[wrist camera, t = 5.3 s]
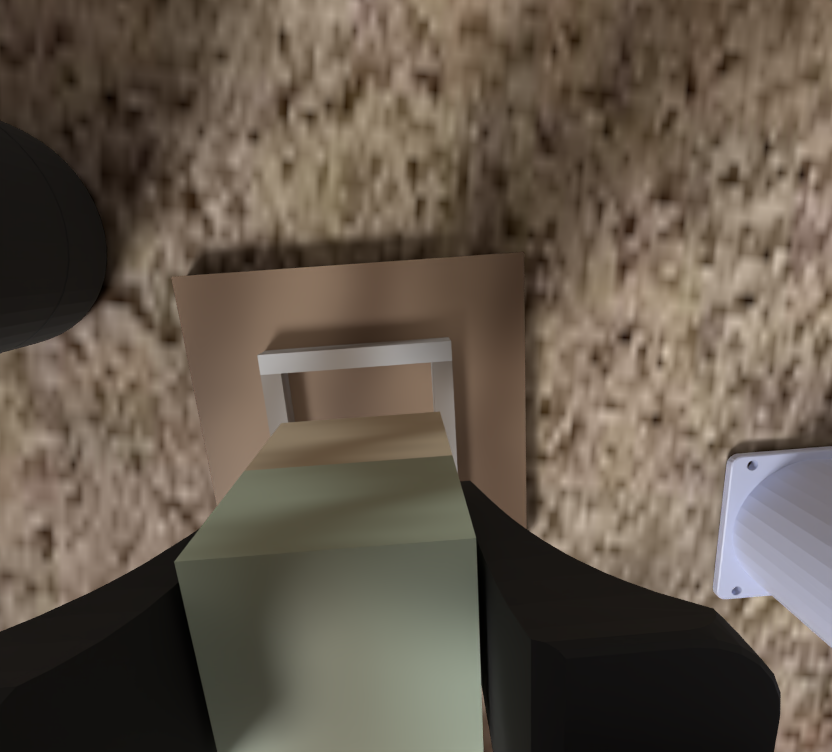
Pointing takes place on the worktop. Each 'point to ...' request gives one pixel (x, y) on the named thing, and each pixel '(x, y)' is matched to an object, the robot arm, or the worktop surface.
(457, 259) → the walnut board
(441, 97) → the worktop surface
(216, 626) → the block stack
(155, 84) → the worktop surface
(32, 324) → the pen holder
